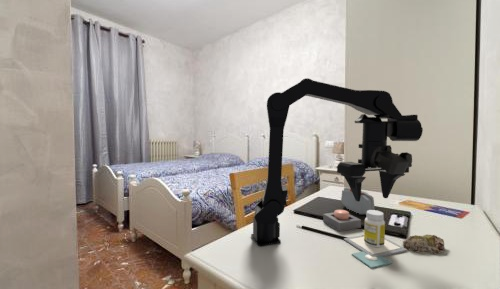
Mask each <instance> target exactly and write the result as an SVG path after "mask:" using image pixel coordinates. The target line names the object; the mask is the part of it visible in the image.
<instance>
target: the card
mask: <svg viewBox="0 0 500 289" xmlns="http://www.w3.org/2000/svg"><path fill="white" fill-rule="evenodd" d="M351 256H353V257H354V258H356V259H357V260H359V261H360V262H361V263H363V264H364V265H365V266H367V267H368V268H370V269H375V268H380V267H384V266H389V265H391V264H392V263H393V262H392V261H390V260H389V259H387V258H385V256H383V257H382V256H377V257H372V256H370V255H368V254H367V253H365V252H364V251H358V252H353V253H351Z"/></svg>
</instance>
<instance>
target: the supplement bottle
mask: <svg viewBox="0 0 500 289" xmlns="http://www.w3.org/2000/svg"><path fill="white" fill-rule="evenodd" d="M365 215H366V217H365V218H364V228H363V229H364V234H363V235H364V242H365V243H366V244H367V245H369V246H372V247H383V246H384V240H385V238H386V237H385V235H386V234H385V233H386V231H385V230H386V221H385V220H384V218H385V215H384V212H382V211H380V210H368V211H367V213H366V214H365Z"/></svg>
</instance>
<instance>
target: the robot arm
mask: <svg viewBox="0 0 500 289" xmlns="http://www.w3.org/2000/svg"><path fill="white" fill-rule="evenodd" d="M304 97H311V98H315V99H320V100H324V101H329V102H333V103H336V104H341V105H346V106H348V107H350V108H353V109H354V110H356V111H358V112H360V113H362V114H360V116H358V118H357V119H356V120H354V124H362V137H361V138H362V141H361V143H359V144H358V148H359V149H361V158H358V159H357V162H355V161H354V162H353V161H340V162H339V163H338V164H337V166H336V172H337V173H338V174H340V176H341V177H344V179H345V181H346V182H347V184H348V186H349V188H350V189H351V191H352V193H353V195H354V198H355V200H356V201H358V202H359V201H360V198H361V191H362V184H363V182H364V180H366V178H367V177H366V176H364V175H365V174H366V172H376V171H377V172H379V173H378V174H379V180H380V188H381V194H382V198H384V199H388V198H389V196H390V194H391V192H392V190H393V187H394V185H395V183H396V182H397V180H398V179H400V178H401V177H404V176H405V175H406V173H407V174H408V173H410V168H411V167H412V166H413V164H412V163H413V155H412V154H411V153H410V152H407V151H406V152H400V154H399V153H394V152H393V151H392V147H391V145H390V144H389V145H388V139H389V140H390V141H391V142H417V141H420V139H421V138H422V136H423V131H424V130H423V126H422V123H421V121H420V120H419V119H418V116H419V115H418V114H407V115H402V113H401V112H400V110H399V109H398V108H397V106H396V105H395V104H394V102H393V98H392V95H391V93H389V91H386V90H374V89H373V90H372V89H368V90H367V89H364V90H361V89H359V90H358V89H353V88H349V87H348V88H347V87H343V86H339V85H335V84H331V83H325V82H321V81H317V80H314V79H313V80H312V79H311V78H308V77H307V78H303V79H302V80H301V81H299V82H297V83H296V84H294V85H293V86H291V87H289V88H287V89H286V90H284V91H282V92H279V91H278V92H274V93H271V95H269V97H268V98H267V101H266V111H267V112H266V113H267V119H268V125H269V126H268V127H269V135H268V137H269V139H268V161H267V162H268V163H267V165H268V166H267V178H266V182H265V187H264V191H263V196H262V199H260V200H259V202H258V203H256V204H255V208H254V209H255V210H254V216H252V233H251V234H250V237H251V238H252V240H253V241H254V242H255V243H256V245H257V246H258V247H264V246H270V245H274V244H280V243H282V242H281V239H280V236H281V235H280V234H281V233H280V231H281V230H280V229H281V228H280V227H281V223H280V222H279V216H280V215H282V213H284V211H285V207H288V202H287V197H288V192H289V190H288V188H287V184H283V185H282V173H283V172H282V168H283V148H284V147H283V146H284V130H285V127H286V122H287V118H288V115H289V110H290V106H291V105H293V104H294V103H296V102H298V101H299V100H301V99H302V98H304ZM384 119H385V120H386V119H387V120H386V121H385V120H384Z"/></svg>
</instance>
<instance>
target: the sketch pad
mask: <svg viewBox="0 0 500 289" xmlns="http://www.w3.org/2000/svg"><path fill="white" fill-rule="evenodd" d="M343 240H344V241H345V242H347V243H348V244H350V245H351V246H352V247H354V248H356V249H357V250H359V252H362V251H364V252H365V253H367V254H368V255H370V256H372V257H377V256H382V257H387V256H390V255H395V254H401V253H406V252H408V250H407V249H406V247H404V246H401V245H400V244H397V242H396V243H395V242H393V241H391V240H389V239H388V238H386V237H385V240H384V246H383V247H372V246H369V245H367V244H366V243H365V242H364V234H363V235H356V236H352V237H351V236H350V237H345V238H343Z"/></svg>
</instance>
